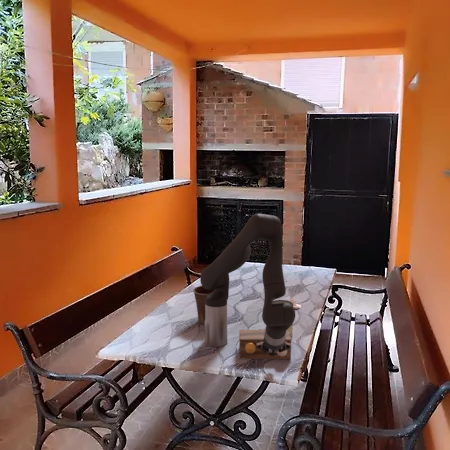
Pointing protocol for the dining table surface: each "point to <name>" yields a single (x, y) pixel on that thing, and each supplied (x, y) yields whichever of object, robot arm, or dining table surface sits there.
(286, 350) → the ivory button
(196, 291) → the plant pot
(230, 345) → the dining table surface
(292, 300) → the teacup and saucer
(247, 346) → the amber button
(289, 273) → the dining table surface
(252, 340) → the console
